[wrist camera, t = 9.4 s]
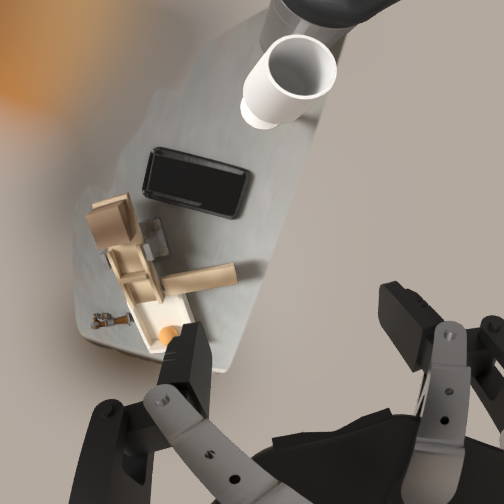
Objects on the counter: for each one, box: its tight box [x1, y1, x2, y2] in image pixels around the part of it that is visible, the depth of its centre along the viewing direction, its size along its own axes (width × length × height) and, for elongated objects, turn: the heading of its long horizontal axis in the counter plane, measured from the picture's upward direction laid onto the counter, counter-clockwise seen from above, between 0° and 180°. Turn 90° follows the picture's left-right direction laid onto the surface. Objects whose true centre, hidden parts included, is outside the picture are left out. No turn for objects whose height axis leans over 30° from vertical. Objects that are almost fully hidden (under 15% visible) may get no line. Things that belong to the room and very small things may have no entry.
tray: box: [127, 290, 195, 354], centre depth 47 cm, size 11×10×4 cm
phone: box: [142, 147, 250, 220], centre depth 41 cm, size 8×1×15 cm
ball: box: [159, 327, 178, 346], centre depth 48 cm, size 4×4×4 cm
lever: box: [86, 193, 238, 309], centre depth 38 cm, size 17×17×4 cm
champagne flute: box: [241, 35, 337, 129], centre depth 26 cm, size 7×7×24 cm
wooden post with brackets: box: [89, 313, 131, 330], centre depth 47 cm, size 2×8×4 cm, turn 89°
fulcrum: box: [100, 218, 170, 270], centre depth 40 cm, size 6×9×7 cm, turn 100°
